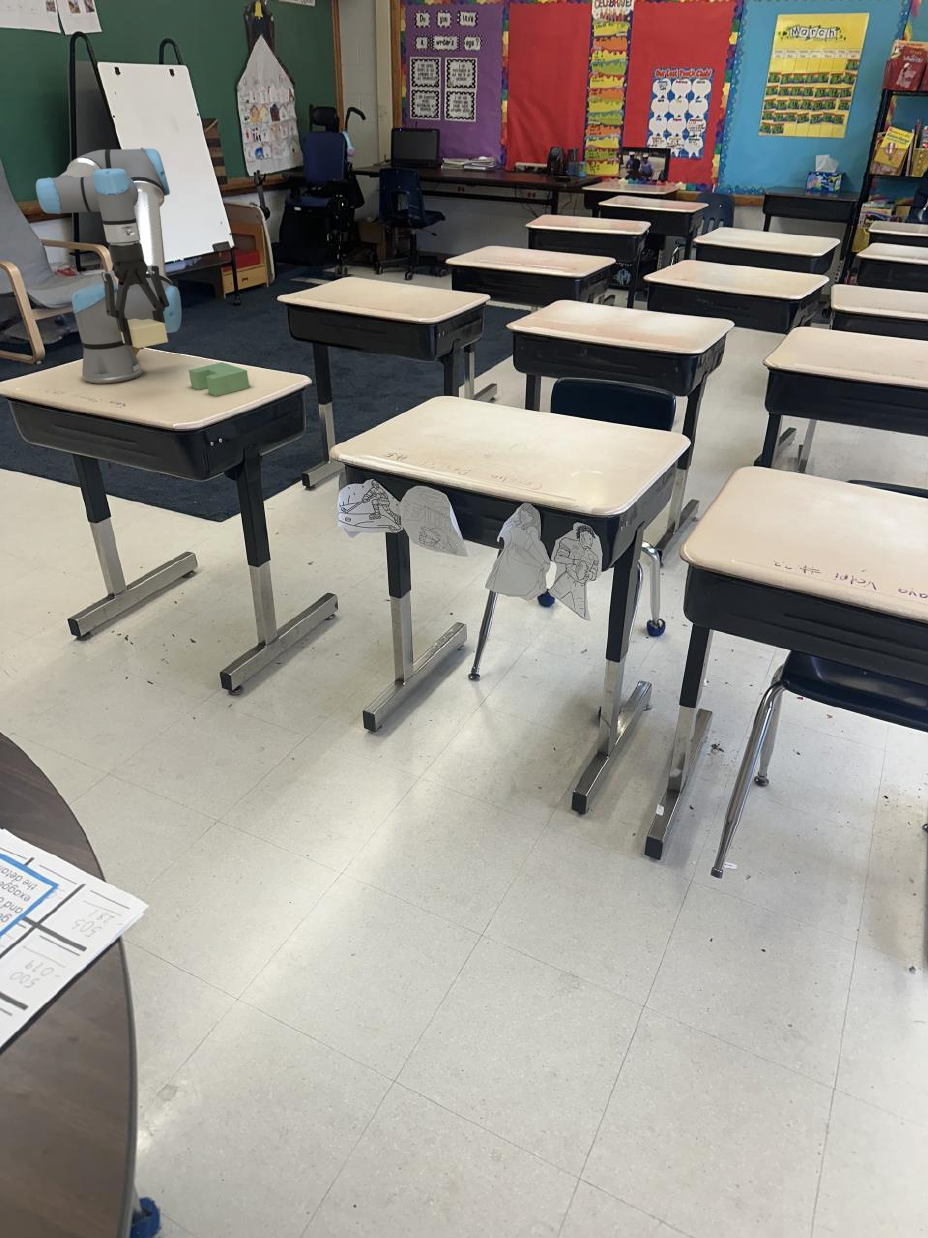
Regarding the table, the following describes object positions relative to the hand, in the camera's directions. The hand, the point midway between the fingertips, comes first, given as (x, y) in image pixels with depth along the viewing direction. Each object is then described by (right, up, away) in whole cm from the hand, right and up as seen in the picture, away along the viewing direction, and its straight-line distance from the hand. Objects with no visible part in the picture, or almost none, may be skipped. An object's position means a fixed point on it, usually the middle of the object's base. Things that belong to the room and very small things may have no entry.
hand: (145, 341), depth 214 cm
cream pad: (-1, 0, +1) cm, 2 cm away
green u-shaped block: (+16, -9, +10) cm, 21 cm away
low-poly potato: (-20, +6, +36) cm, 41 cm away
